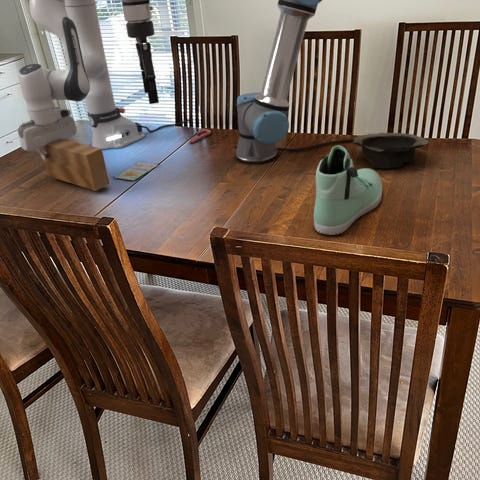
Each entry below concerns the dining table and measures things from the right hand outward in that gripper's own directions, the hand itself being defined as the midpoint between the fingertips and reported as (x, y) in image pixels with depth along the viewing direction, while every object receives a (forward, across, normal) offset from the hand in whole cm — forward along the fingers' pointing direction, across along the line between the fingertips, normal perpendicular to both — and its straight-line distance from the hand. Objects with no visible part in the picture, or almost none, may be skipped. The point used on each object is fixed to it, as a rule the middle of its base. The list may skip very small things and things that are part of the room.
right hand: (151, 97), depth 145 cm
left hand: (+21, +23, +35) cm, 47 cm away
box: (+28, +15, +29) cm, 43 cm away
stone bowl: (+30, -9, -77) cm, 83 cm away
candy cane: (+30, +43, -20) cm, 56 cm away
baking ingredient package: (+30, +18, +8) cm, 36 cm away
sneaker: (+30, -37, -48) cm, 68 cm away
